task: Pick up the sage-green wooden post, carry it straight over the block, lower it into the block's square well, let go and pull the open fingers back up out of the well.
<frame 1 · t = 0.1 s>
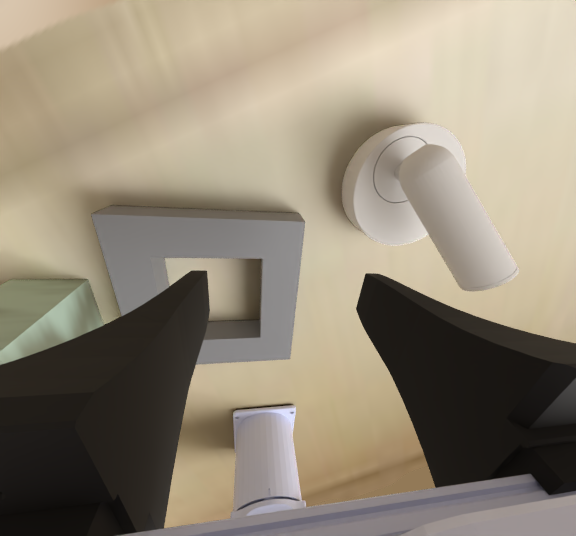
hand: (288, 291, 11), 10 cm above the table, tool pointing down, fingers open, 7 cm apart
well block: (216, 286, 22), on the table
wall hook: (393, 192, 20), on the table
post: (62, 306, 20), on the table
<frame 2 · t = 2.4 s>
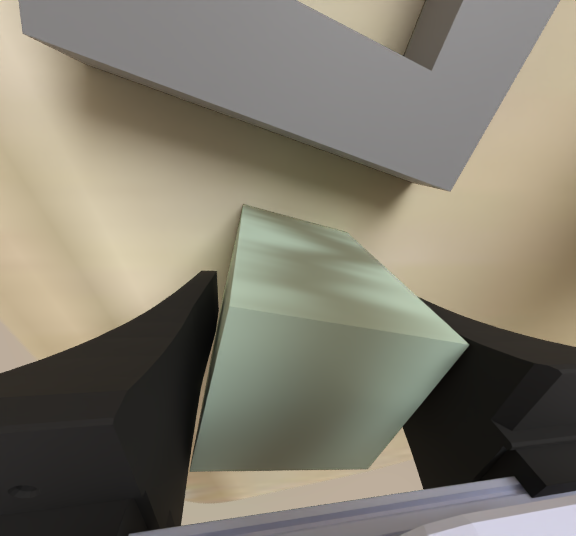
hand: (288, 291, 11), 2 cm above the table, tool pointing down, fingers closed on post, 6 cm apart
post: (282, 267, 13), on the table, touching gripper
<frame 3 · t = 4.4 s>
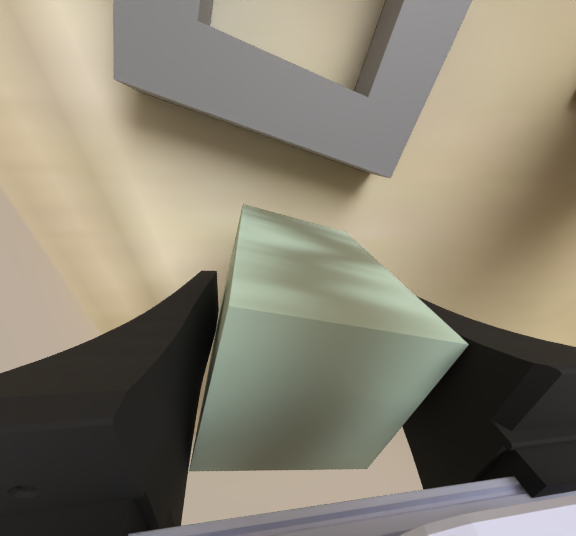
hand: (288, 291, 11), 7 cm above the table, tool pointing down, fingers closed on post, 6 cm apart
post: (282, 266, 13), point 5 cm above the table, touching gripper
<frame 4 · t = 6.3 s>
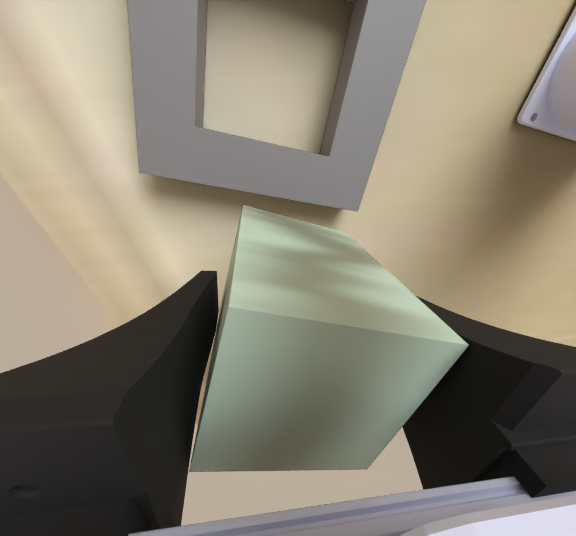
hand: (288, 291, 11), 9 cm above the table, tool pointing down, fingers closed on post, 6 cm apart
well block: (274, 70, 14), on the table
post: (282, 267, 13), point 7 cm above the table, touching gripper
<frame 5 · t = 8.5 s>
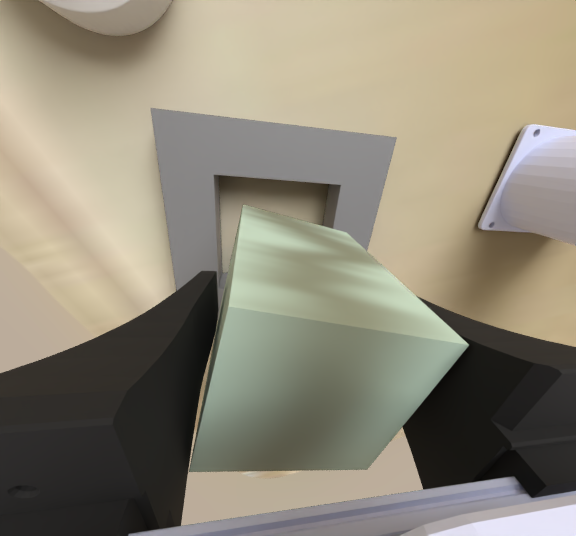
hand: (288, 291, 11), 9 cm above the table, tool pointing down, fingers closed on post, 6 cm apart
well block: (272, 229, 19), on the table
post: (282, 267, 13), point 7 cm above the table, touching gripper
when the fingers open (4 cm above the table, at t = 10.2 s): post drops 2 cm, resting in well block.
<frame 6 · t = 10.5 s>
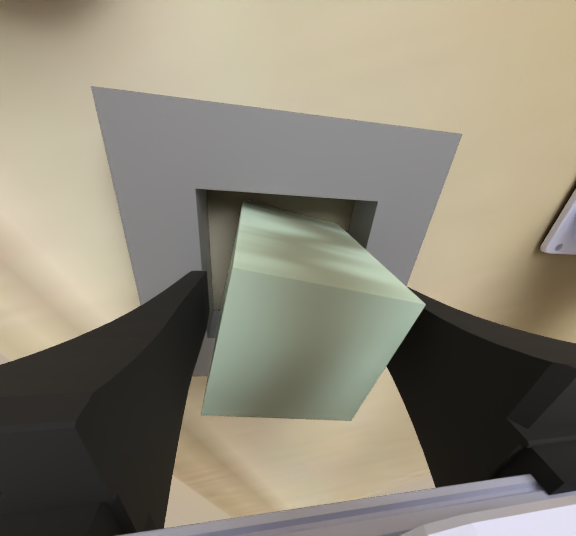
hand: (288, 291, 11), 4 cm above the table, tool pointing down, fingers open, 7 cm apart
well block: (279, 256, 14), on the table
post: (279, 255, 14), resting in well block
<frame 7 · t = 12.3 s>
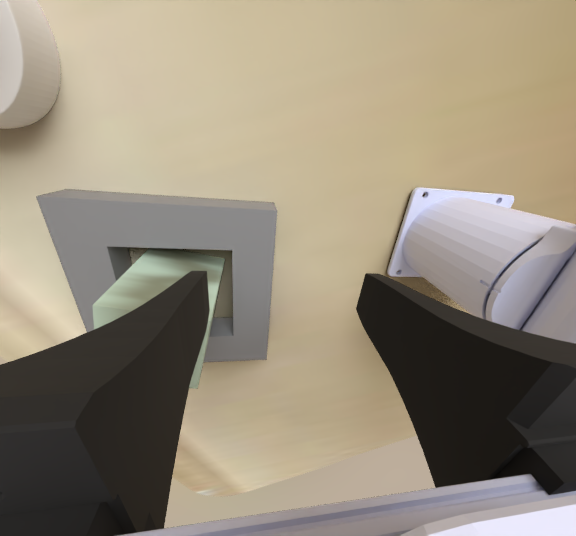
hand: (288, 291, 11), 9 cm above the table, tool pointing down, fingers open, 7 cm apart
well block: (186, 280, 20), on the table
post: (186, 280, 20), resting in well block
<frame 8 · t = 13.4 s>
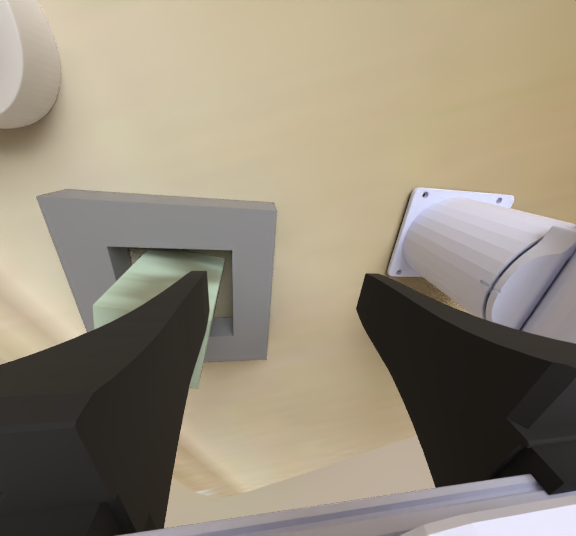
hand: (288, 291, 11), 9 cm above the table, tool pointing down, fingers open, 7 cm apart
well block: (186, 280, 20), on the table
post: (186, 280, 20), resting in well block
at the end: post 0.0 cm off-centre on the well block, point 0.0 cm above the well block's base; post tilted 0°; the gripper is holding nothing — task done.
